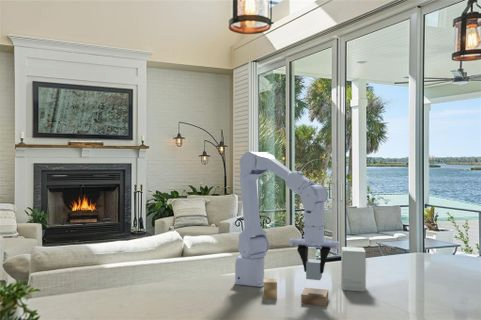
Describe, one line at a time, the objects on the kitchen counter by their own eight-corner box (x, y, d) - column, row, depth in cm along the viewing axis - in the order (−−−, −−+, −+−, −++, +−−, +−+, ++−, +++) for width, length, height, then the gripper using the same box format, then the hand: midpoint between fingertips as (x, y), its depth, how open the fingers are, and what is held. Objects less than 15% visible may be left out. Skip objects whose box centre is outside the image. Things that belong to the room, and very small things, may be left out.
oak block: (263, 298, 126) (263, 282, 126) (263, 294, 130) (263, 278, 130) (276, 299, 126) (277, 282, 126) (276, 294, 130) (276, 278, 130)
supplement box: (365, 291, 133) (366, 251, 133) (341, 290, 134) (341, 250, 134) (363, 285, 140) (364, 247, 140) (340, 283, 142) (341, 246, 142)
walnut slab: (301, 304, 122) (301, 294, 122) (304, 297, 128) (304, 287, 128) (325, 307, 120) (325, 296, 120) (328, 299, 126) (328, 289, 126)
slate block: (306, 279, 123) (306, 261, 123) (308, 275, 127) (308, 258, 127) (319, 280, 122) (319, 263, 122) (321, 276, 126) (321, 260, 126)
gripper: (287, 226, 123) (286, 272, 123) (337, 228, 118) (337, 277, 118) (292, 222, 130) (291, 267, 130) (340, 225, 125) (340, 271, 125)
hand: (313, 271), depth 124 cm, fingers closed on slate block, 4 cm apart
